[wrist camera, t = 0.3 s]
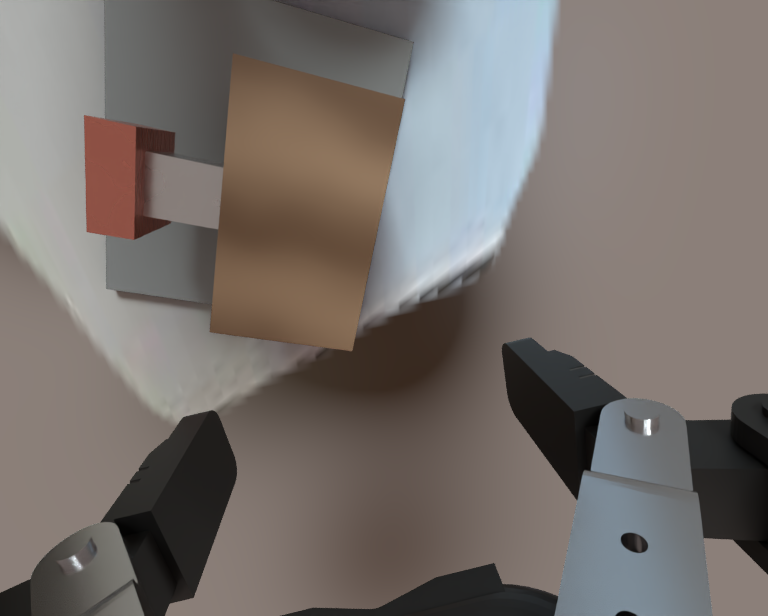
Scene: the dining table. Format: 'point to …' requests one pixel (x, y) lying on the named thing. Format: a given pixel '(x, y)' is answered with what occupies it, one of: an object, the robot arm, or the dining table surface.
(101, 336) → the dining table surface
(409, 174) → the dining table surface
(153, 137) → the red headed square peg
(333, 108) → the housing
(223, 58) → the base mat
